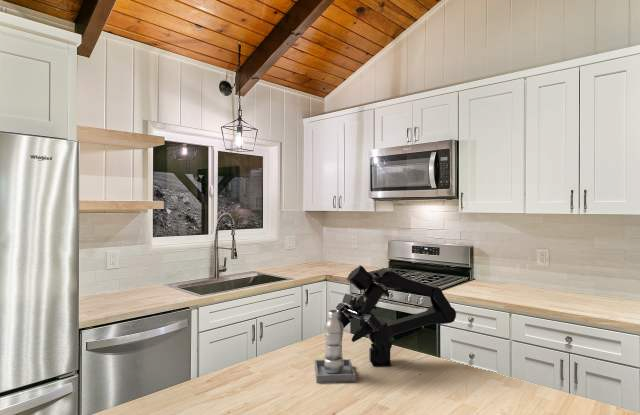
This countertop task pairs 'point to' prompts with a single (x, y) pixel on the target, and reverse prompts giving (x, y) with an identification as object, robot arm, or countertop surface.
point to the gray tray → (325, 377)
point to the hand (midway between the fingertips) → (343, 337)
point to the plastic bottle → (333, 343)
